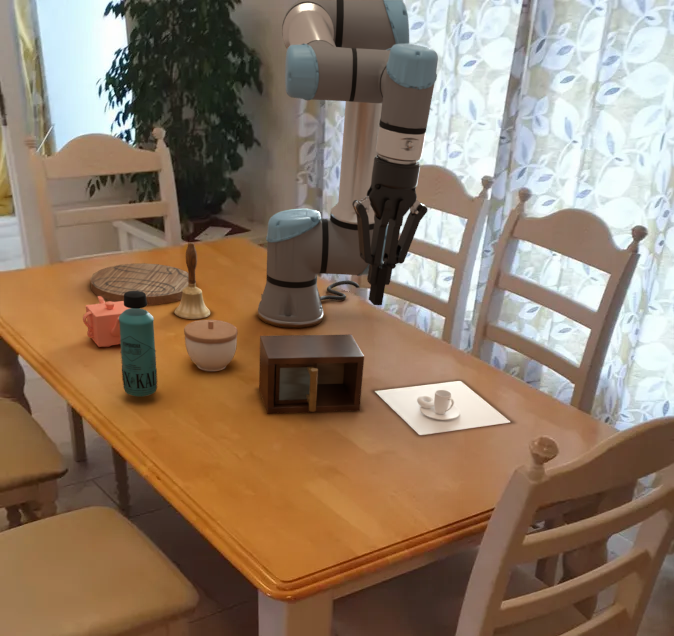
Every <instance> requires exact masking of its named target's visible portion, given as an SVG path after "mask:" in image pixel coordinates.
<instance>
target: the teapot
mask: <svg viewBox="0 0 674 636" xmlns="http://www.w3.org/2000/svg"><path fill="white" fill-rule="evenodd" d="M97 299H98V303H92V304H86V305H85V313H84V314H83V316H82V321H83V324H84V325H85V326H86V327H87V332H86V333H87V334H86V335H87V337H88V338H90V339H91V340H92V341H93V342H94V343H95V345H97V346H98V347H99V348H100V347H104V348H110V347H111V346H116V345H120V344H121V342H120V324H119V316H120V315H121V314H122V313H123V312H124V311H125V310H127V309H131V308H128V307H125V306H124V301H118V302H113V301H110V300H107V301H105V299H103V297H101V296H97Z"/></svg>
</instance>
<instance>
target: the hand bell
mask: <svg viewBox="0 0 674 636" xmlns="http://www.w3.org/2000/svg"><path fill="white" fill-rule="evenodd" d="M186 247H187V248H186V249H185V250H186V251H185V263H186V264H185V265H186V268H187V272H188V287H186V288H184V289H183V290H182V298H181V300H180V302H179V305H178V306H177V307H175V309H174V314H175V316H177V317H179V318H181V319H185V320H203V319H205V318H208V317H209V316H210V315H211V310H210V309H209V308H208V307H207V305H206V304H205V301H204V297H203V291H202V289H201V288H199V287H197V279H196V269H197V265H198V253H197V252H198V251H197V249H196V246H195V242H193V241H189V242H187V246H186Z"/></svg>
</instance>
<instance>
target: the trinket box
mask: <svg viewBox="0 0 674 636" xmlns="http://www.w3.org/2000/svg"><path fill="white" fill-rule="evenodd" d="M238 332H239V331H238V328H237V327H236V325H234V324H232V323H230V322H228V321H224V320H218V319H198V320H195V321H191V322H189V323H188V324H186V325H185V326H184V327H183V333H184V334H183V335H184V343H185V344H184V345H185V349H186V352H187V356H188V357H189V359H190V360H191V361H192V363H194V364H195V365H196V367H197V368H198V369H200V370H202V371H205V372H218V371H219V372H220V371H222V370H225V369H226V368H227V366H228V365H229V364H230V363H231V362H232V360H233V359H234V357H235V355H236V351H237V345H238Z"/></svg>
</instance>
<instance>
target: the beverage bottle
mask: <svg viewBox="0 0 674 636" xmlns="http://www.w3.org/2000/svg"><path fill="white" fill-rule="evenodd" d="M124 306H125V307H128V308H131V309H127V310H125V311H124V312H123V313H122V314H121V315H120V316H119V324H120V342H121V344H119V347H120V359H121V360H120V361H121V362H120V363H121V375H122V376H121V378H122V379H121V380H122V386H123V387H122V388H123V390H124V392H125V393H126V394H127V395H129V396H131V397H149V396H151V395H153V394H155V393H156V392H157V389H158V387H159V386H158V385H159V384H158V375H157V374H158V367H157V361H156V360H157V356H156V355H157V354H156V352H157V350H156V343H155V325H154V321H155V319H154V318H155V317H154V315H152V313H150V312H149V311H148V310H146V309H144V308H146V307H148V305H147V300H146V294H145V293H144V292H141V291H128V292H126V293H124Z"/></svg>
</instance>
